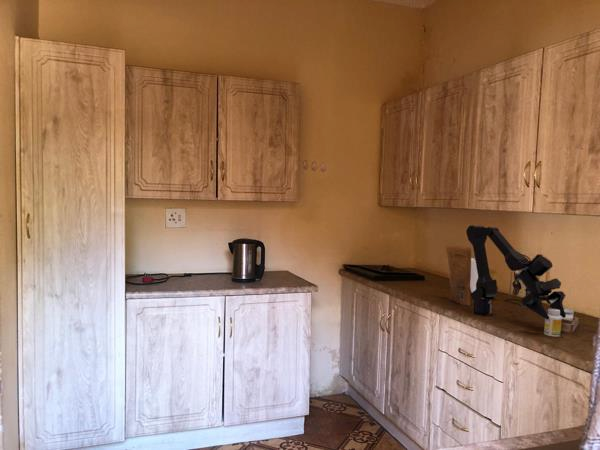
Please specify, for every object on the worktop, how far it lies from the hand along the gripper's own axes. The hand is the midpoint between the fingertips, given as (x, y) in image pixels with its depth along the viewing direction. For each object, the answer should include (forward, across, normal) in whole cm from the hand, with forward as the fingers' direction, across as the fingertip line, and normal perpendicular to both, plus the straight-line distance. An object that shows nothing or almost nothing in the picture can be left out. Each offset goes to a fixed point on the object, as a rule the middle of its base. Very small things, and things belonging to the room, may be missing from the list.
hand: (556, 318), depth 168 cm
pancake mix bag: (-35, +7, +45) cm, 57 cm away
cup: (-48, +37, +57) cm, 83 cm away
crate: (0, +14, +10) cm, 17 cm away
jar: (-2, +18, +10) cm, 20 cm away
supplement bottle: (+4, 0, +6) cm, 7 cm away
